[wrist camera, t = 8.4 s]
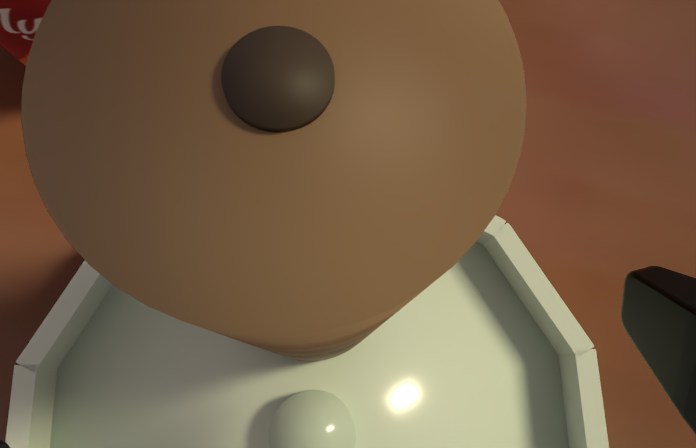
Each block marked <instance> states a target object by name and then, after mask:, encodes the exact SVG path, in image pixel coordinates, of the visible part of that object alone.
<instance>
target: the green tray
mask: <svg viewBox="0 0 696 448" xmlns="http://www.w3.org/2000/svg"><path fill="white" fill-rule="evenodd" d="M505 222H506V221H505V220H503V219H502V218H500V217H498V216H496V215H495V216H494V218H493V219H492V221H491V222H490V223H489V225H488V226H487V228H486V229H485V230H484V232H483V233H482V234H481V236H480V237H479V239H478V240H477V241H476V243H475V244H474V245H473V246H472V247H471V248H470V249H469V250H468V251H467V252H466V253H465V254H464V255H463V256H462V257H461V259H460V260H459V261H458V262H457V263H456V264H455V265H454V266H453V267H452V268H451V269H449V270H448V271H447V272H446V273H444V274H443V275H442V276H441V277H440V278H438V279H437V280H436V281H435V282H433V283H432V284H431V285H430V286H429V287H427V288H426V289H425V290H424V291H422V292H421V293H420V294H419V295H417V296H416V297H415V298H414V299H413V300H411V301H410V302H409V303H408V304H406V305H405V306H404V307H403V308H402V309H400V310H399V311H398V312H397V313H395V314H394V315H393V316H392V317H390V318H389V319H388V320H387V321H386V322H384V323H383V324H382V325H381V326H379V327H378V328H377V329H376V330H375V331H373V332H372V333H371V334H370V335H368V336H367V337H366V338H365V339H364V340H362V341H361V342H360V343H359V344H357V345H356V346H355V347H353V348H352V349H350V350H349V351H347V352H345V353H343V354H341V355H339V356H336V357H333V358H330V359H326V360H320V361H301V360H295V359H291V358H287V357H284V356H281V355H279V354H276V353H273V352H270V351H267V350H264V349H261V348H258V347H256V346H253V345H250V344H247V343H244V342H241V341H238V340H236V339H233V338H230V337H227V336H224V335H221V334H218V333H215V332H213V331H210V330H207V329H204V328H201V327H198V326H195V325H192V324H190V323H187V322H184V321H181V320H179V319H176V318H174V317H172V316H169V315H167V314H165V313H162V312H160V311H158V310H155V309H153V308H150V307H148V306H146V305H145V304H143V303H141V302H140V301H138V300H136V299H135V298H133V297H131V296H130V295H128V294H126V293H125V292H123V291H121V290H120V289H118V288H117V287H115V286H114V285H113V284H112V283H111V282H109V281H108V280H107V279H106V278H104V277H103V276H102V275H101V274H99V273H98V272H97V271H96V270H95V269H93V268H92V267H91V266H90V265H89V264H88V263H87V262H86V261H84V262H83V264H82V265H81V266H80V268H79V269H78V271H77V272H76V274H75V275H74V277H73V278H72V280H71V281H70V283H69V284H68V286H67V287H66V289H65V290H64V291H63V293H62V294H61V296H60V297H59V299H58V300H57V302H56V303H55V305H54V306H53V308H52V309H51V311H50V312H49V314H48V315H47V316H46V318H45V319H44V321H43V322H42V324H41V325H40V327H39V328H38V330H37V331H36V333H35V334H34V336H33V337H32V339H31V340H30V341H29V343H28V344H27V346H26V347H25V349H24V350H23V352H22V353H21V355H20V356H19V358H18V359H17V361H16V363H18V364H20V365H14V372H13V381H12V389H11V398H10V406H9V415H8V423H7V432H6V440H5V442H6V443H7V444H8V445H9V447H10V448H609V444H608V436H607V429H606V422H605V414H604V407H603V399H602V392H601V385H600V377H599V370H598V362H597V355H596V349H591V348H593V347H594V345H593V343H592V342H591V340H590V339H589V338H588V336H587V335H586V333H585V332H584V330H583V329H582V328H581V326H580V325H579V323H578V322H577V320H576V319H575V318H574V316H573V315H572V313H571V312H570V310H569V309H568V308H567V306H566V305H565V303H564V302H563V300H562V299H561V298H560V296H559V295H558V293H557V292H556V290H555V289H554V288H553V286H552V285H551V283H550V282H549V280H548V279H547V278H546V276H545V275H544V273H543V272H542V270H541V269H540V268H539V266H538V265H537V263H536V262H535V260H534V259H533V258H532V256H531V255H530V253H529V252H528V250H527V249H526V247H525V246H524V245H523V243H522V242H521V240H520V239H519V237H518V236H517V235H516V233H515V232H514V230H513V229H512V227H511V226H510V225H509V223H507V224H505ZM504 224H505V225H504Z"/></svg>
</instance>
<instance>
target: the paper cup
mask: <svg viewBox="0 0 696 448" xmlns="http://www.w3.org/2000/svg"><path fill="white" fill-rule="evenodd" d="M51 1H52V0H0V46H2V47H3V48H4V49H5V50H7V51H8V52H9V53H10V54H11V55H13V56H14V57H15V58H16V59H18V60H19V61H20V62H21V63H23V64H24V65H25V66H26V62H27V59H28V56H29V52H30V49H31V46H32V43H33V40H34V36H35V33H36V31H37V29H38V27H39V25H40V22H41V20H42V18H43V16H44V14H45V12H46V10H47V8H48V6H49V4H50V3H51Z"/></svg>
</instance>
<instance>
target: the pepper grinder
mask: <svg viewBox="0 0 696 448" xmlns="http://www.w3.org/2000/svg"><path fill="white" fill-rule="evenodd" d="M526 105H527V97H526V86H525V75H524V68H523V64H522V60H521V56H520V51H519V47H518V43H517V40H516V38H515V35H514V32H513V30H512V27H511V25H510V22H509V20H508V17H507V15H506V13H505V11H504V9H503V8H502V6H501V4H500V2H499V0H52V1H51V3H50V4H49V6H48V8H47V10H46V12H45V14H44V16H43V18H42V20H41V22H40V25H39V27H38V29H37V31H36V33H35V36H34V40H33V43H32V46H31V49H30V52H29V56H28V59H27V62H26V68H25V75H24V81H23V87H22V119H21V123H22V130H23V137H24V144H25V152H26V156H27V159H28V163H29V166H30V169H31V173H32V176H33V179H34V183H35V185H36V187H37V190H38V192H39V194H40V196H41V198H42V200H43V202H44V204H45V206H46V209H47V211H48V213H49V214H50V216H51V217H52V219H53V220H54V222H55V223H56V225H57V226H58V228H59V229H60V231H61V232H62V234H63V235H64V237H65V238H66V240H67V241H68V242H69V243H70V244H71V245H72V247H73V248H74V249H75V250H76V251H77V252H78V253H79V254H80V255H81V256H82V257H83V259H84V260H85V261H86V262H87V263H88V264H89V265H90V266H91V267H92V268H93V269H95V270H96V271H97V272H98V273H99V274H101V275H102V276H103V277H104V278H106V279H107V280H108V281H109V282H111V283H112V284H113V285H114V286H115V287H117V288H118V289H120V290H121V291H123V292H125V293H126V294H128V295H130V296H131V297H133V298H135V299H136V300H138V301H140V302H141V303H143V304H145V305H146V306H148V307H150V308H153V309H155V310H158V311H160V312H162V313H165V314H167V315H169V316H172V317H174V318H176V319H179V320H181V321H184V322H187V323H190V324H192V325H195V326H198V327H201V328H204V329H207V330H210V331H213V332H215V333H218V334H221V335H224V336H227V337H230V338H233V339H236V340H238V341H241V342H244V343H247V344H250V345H253V346H256V347H258V348H261V349H264V350H267V351H270V352H273V353H276V354H279V355H281V356H284V357H287V358H291V359H295V360H301V361H320V360H326V359H330V358H333V357H336V356H339V355H341V354H343V353H345V352H347V351H349V350H350V349H352V348H353V347H355V346H356V345H357V344H359V343H360V342H361V341H362V340H364V339H365V338H366V337H367V336H368V335H370V334H371V333H372V332H373V331H375V330H376V329H377V328H378V327H379V326H381V325H382V324H383V323H384V322H386V321H387V320H388V319H389V318H390V317H392V316H393V315H394V314H395V313H397V312H398V311H399V310H400V309H402V308H403V307H404V306H405V305H406V304H408V303H409V302H410V301H411V300H413V299H414V298H415V297H416V296H417V295H419V294H420V293H421V292H422V291H424V290H425V289H426V288H427V287H429V286H430V285H431V284H432V283H433V282H435V281H436V280H437V279H438V278H440V277H441V276H442V275H443V274H444V273H446V272H447V271H448V270H449V269H451V268H452V267H453V266H454V265H455V264H456V263H457V262H458V261H459V260H460V259H461V257H462V256H463V255H464V254H465V253H466V252H467V251H468V250H469V249H470V248H471V247H472V246H473V245H474V244H475V243H476V241H477V240H478V239H479V237H480V236H481V234H482V233H483V232H484V230H485V229H486V228H487V226H488V225H489V223H490V222H491V221H492V219H493V218H494V216H495V214H496V213H497V211H498V209H499V207H500V205H501V203H502V201H503V199H504V197H505V195H506V193H507V191H508V190H509V187H510V185H511V182H512V179H513V176H514V173H515V170H516V167H517V165H518V162H519V159H520V154H521V149H522V144H523V138H524V133H525V125H526Z"/></svg>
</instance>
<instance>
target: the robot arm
mask: <svg viewBox="0 0 696 448" xmlns="http://www.w3.org/2000/svg"><path fill="white" fill-rule="evenodd" d="M621 318H622V323H623V326H624V328H625V330H626V332H627V334H628V335H629V337H630V338H631V340H632V341H633V343H634V344H635V346H636V347H637V349H638V350H639V352H640V354H641V355H642V357H643V358H644V360H645V361H646V363H647V364H648V366H649V367H650V369H651V370H652V372H653V374H654V375H655V377H656V378H657V380H658V381H659V383H660V384H661V386H662V387H663V389H664V390H665V392H666V394H667V395H668V397H669V398H670V400H671V401H672V403H673V404H674V406H675V407H676V409H677V410H678V411H679V413H680V414H681V416H682V417H683V419H684V420H685V421H686V422H687V424H688V425H689V426H690V428H691V429H692V430H693V432H694V433H695V434H696V278H693V277H690V276H687V275H684V274H681V273H677V272H674V271H671V270H668V269H665V268H662V267H658V266H650V267H646V268H642V269H639V270H635V271H632V272H630V273H628V275H627V276H626V278H625V284H624V293H623V301H622V310H621ZM0 448H10V447H9V445H8V444H7V443H6V442H4V441H2V440H0Z"/></svg>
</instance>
